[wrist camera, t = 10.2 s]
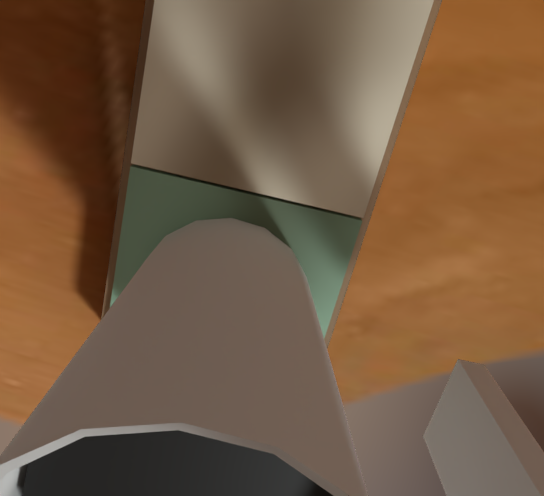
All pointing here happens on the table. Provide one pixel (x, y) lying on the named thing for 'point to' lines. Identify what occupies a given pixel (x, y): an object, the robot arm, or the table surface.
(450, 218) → the table surface
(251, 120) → the cream and green board
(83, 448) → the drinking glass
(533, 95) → the table surface
